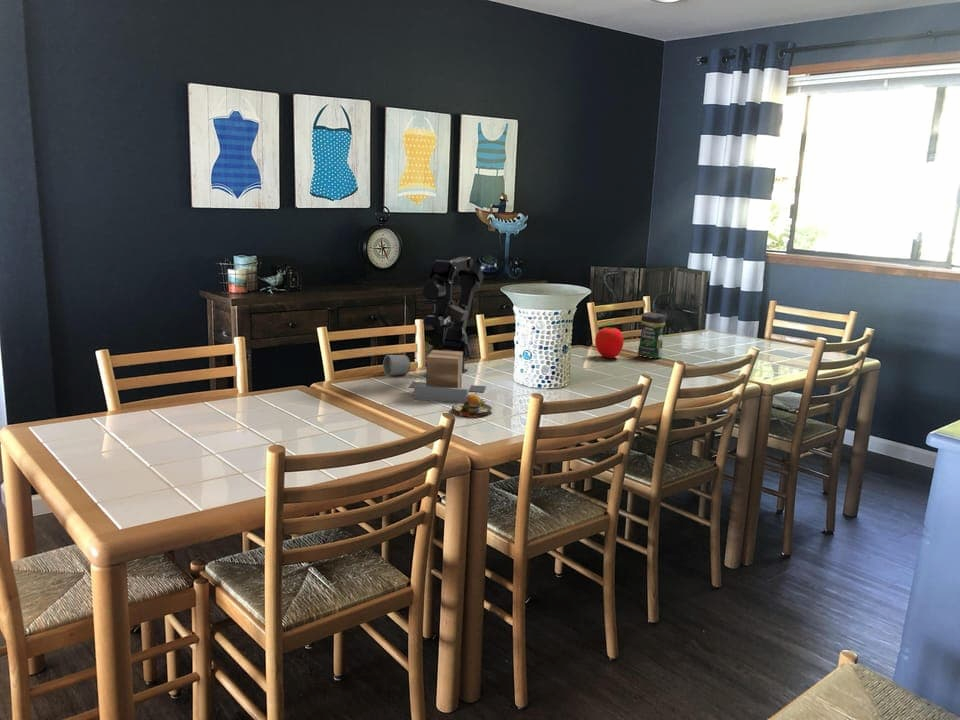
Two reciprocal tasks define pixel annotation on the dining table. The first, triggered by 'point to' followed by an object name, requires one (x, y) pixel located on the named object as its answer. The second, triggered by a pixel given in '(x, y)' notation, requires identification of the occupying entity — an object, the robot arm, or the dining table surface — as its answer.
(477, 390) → the mats
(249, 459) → the dining table surface
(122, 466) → the dining table surface
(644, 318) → the coffee jar
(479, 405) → the burger
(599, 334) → the red apple
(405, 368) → the ceramic mug
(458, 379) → the walnut block
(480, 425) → the dining table surface
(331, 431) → the dining table surface
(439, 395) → the grey t-shaped block
